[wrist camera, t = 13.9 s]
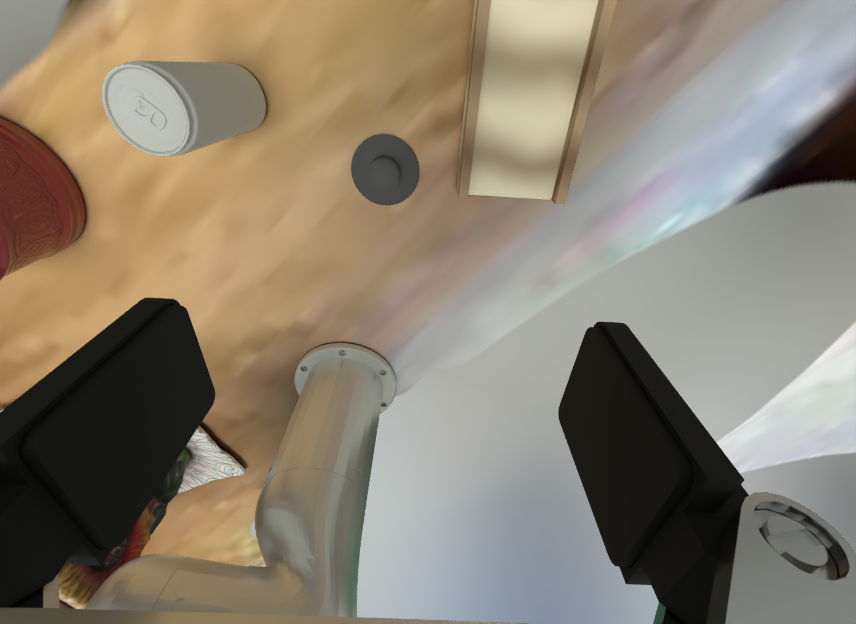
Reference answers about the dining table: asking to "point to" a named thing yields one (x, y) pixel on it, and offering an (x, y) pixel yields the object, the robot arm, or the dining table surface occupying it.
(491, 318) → the dining table surface
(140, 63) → the beverage can
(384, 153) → the tee
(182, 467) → the cookie jar
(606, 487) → the robot arm
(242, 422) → the dining table surface
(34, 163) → the canister
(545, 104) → the lane
